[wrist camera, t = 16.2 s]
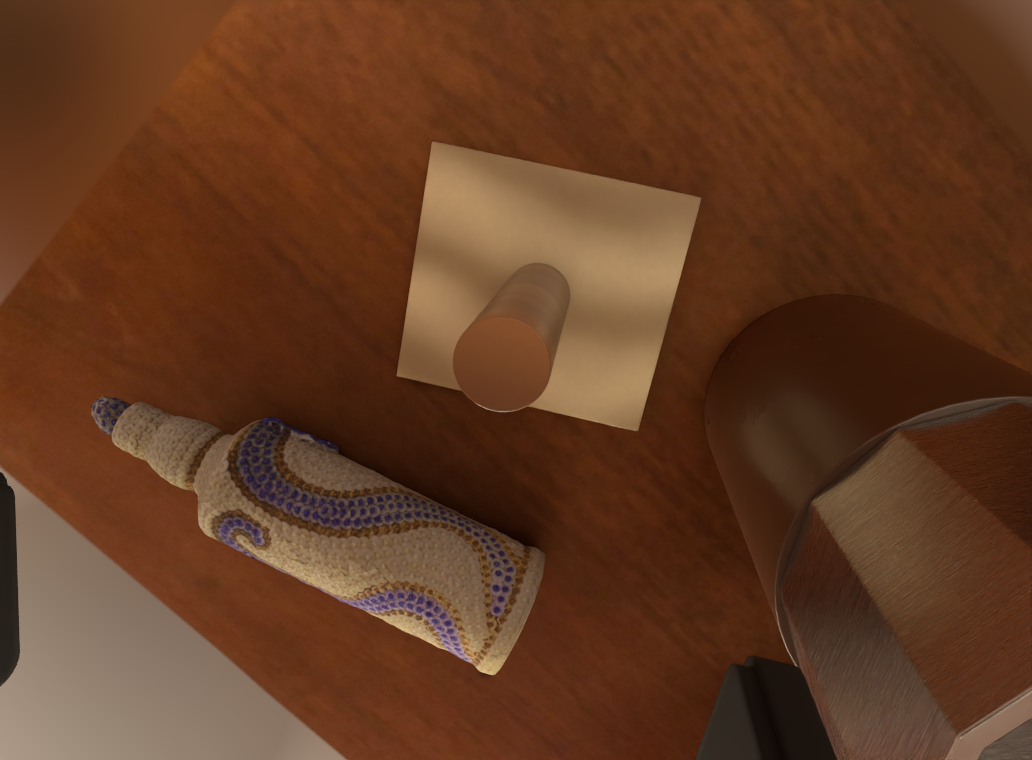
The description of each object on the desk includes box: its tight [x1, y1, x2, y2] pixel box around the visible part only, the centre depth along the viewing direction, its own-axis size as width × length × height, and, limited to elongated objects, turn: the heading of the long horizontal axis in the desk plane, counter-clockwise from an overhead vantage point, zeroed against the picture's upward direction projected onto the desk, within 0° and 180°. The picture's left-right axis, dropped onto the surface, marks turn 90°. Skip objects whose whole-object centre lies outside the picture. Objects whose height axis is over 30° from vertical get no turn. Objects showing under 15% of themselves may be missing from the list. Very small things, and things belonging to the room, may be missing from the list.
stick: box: [453, 263, 570, 412], centre depth 28 cm, size 3×3×13 cm
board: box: [397, 141, 702, 431], centre depth 35 cm, size 12×13×1 cm
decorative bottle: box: [91, 397, 546, 675], centre depth 37 cm, size 26×8×7 cm, turn 64°
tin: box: [704, 294, 1032, 760], centre depth 24 cm, size 12×12×25 cm
